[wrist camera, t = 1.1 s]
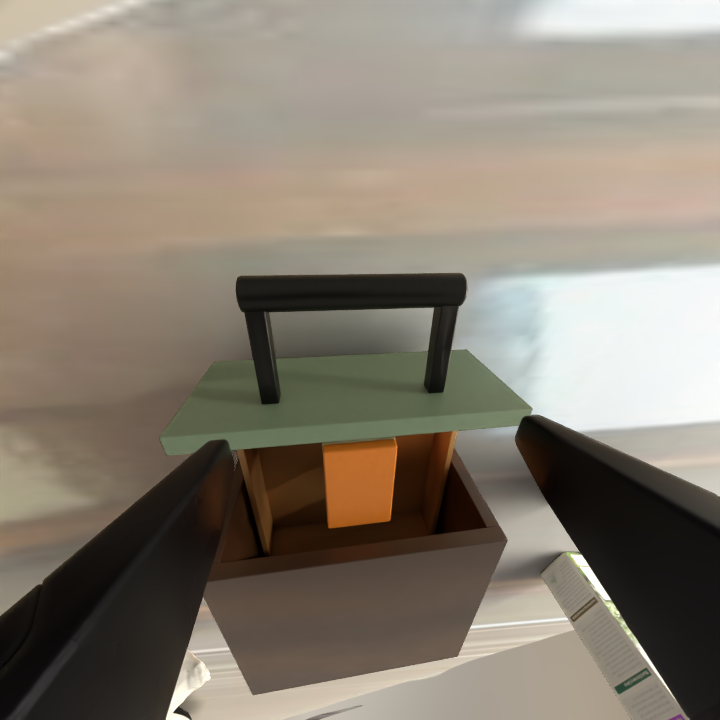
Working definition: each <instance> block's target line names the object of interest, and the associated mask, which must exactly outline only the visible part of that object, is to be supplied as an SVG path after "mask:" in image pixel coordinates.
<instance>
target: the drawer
mask: <svg viewBox="0 0 720 720" xmlns="http://www.w3.org/2000/svg"><path fill="white" fill-rule="evenodd" d="M466 295H467V280H466V278H465V276H464V275H463V274H461V273H422V274H348V275H274V276H240V277H238V278H237V281H236V297H237V302H238V305H239V307H240V310H241V311H242V312H244V313H245V318H246V324H247V329H248V334H249V340H250V345H251V350H252V356H253V360H239V361H219V362H214V363H213V364H212V365H211V367H210V368H209V369H208V371H207V372H206V374H205V375H204V376H203V378H202V379H201V380H200V382H199V383H198V385H197V386H196V387H195V389H194V390H193V391H192V393H191V394H190V396H189V397H188V398H187V400H186V401H185V402H184V404H183V405H182V407H181V408H180V409H179V411H178V412H177V413H176V415H175V416H174V418H173V419H172V420H171V422H170V423H169V424H168V426H167V427H166V429H165V430H164V431H163V433H162V434H161V435H160V437H159V440H160V442H161V444H162V447H163V449H164V451H165V454H166V455H167V456H170V455H182V454H193V453H195V452H196V451H197V450H198V449H200V448H201V447H202V446H203V445H204V444H205V443H207V442H208V441H210V440H219V439H225V440H227V441H228V443H229V446H230V449H231V450H237V453H238V457H239V461H240V464H241V468H242V472H243V476H244V480H245V483H246V487H247V491H248V495H249V499H250V502H251V506H252V510H253V514H254V518H255V522H256V525H257V529H258V533H259V537H260V541H261V544H262V548H263V552H264V556H265V557H270V556H277V555H285V554H292V553H300V552H307V551H315V550H323V549H330V548H338V547H345V546H353V545H360V544H368V543H376V542H383V541H391V540H398V539H406V538H413V537H421V536H429V535H434V534H435V529H436V525H437V520H438V516H439V511H440V507H441V502H442V498H443V493H444V489H445V484H446V480H447V475H448V471H449V466H450V462H451V458H452V453H453V449H454V444H455V440H456V435H457V431H461V430H473V429H485V428H496V427H508V426H519V425H520V422H521V419H522V418H523V417H524V416H527V415H531V412H532V407H530V406H529V405H528V404H527V403H526V402H525V401H524V400H523V399H522V398H520V397H519V396H518V395H517V394H516V393H515V392H514V391H513V390H511V389H510V388H509V387H508V386H507V385H506V384H505V383H504V382H503V381H501V380H500V379H499V378H498V377H497V376H496V375H495V374H494V373H493V372H491V371H490V370H489V369H488V368H487V367H486V366H485V365H484V364H482V363H481V362H480V361H479V360H478V359H477V358H476V357H475V356H474V355H472V354H471V353H470V352H469V351H468V350H467V349H465V350H451V349H452V343H453V337H454V332H455V326H456V321H457V315H458V309H459V306H461V305H462V304H463V303H464V301H465V299H466ZM432 307H434V313H433V320H432V328H431V335H430V342H429V350H428V351H424V352H404V353H383V354H363V355H342V356H322V357H301V358H280V359H276V356H275V350H274V343H273V336H272V329H271V322H270V315H269V312H293V311H328V310H363V309H397V308H432ZM392 436H395V441H396V444H397V456H396V466H395V477H394V487H393V497H392V508H391V518H390V521H387V522H379V523H370V524H362V525H354V526H346V527H338V528H328V522H327V508H326V494H325V479H324V465H323V451H322V442H333V441H345V440H357V439H368V438H380V437H392Z"/></svg>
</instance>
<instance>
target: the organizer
mask: <svg viewBox="0 0 720 720" xmlns="http://www.w3.org/2000/svg"><path fill="white" fill-rule="evenodd" d="M507 541H508V539H507V538H506V536H505V534H504V532H503V531H502V529H501V527H500V526H499V524H498V522H497V521H496V519H495V517H494V515H493V514H492V512H491V510H490V509H489V507H488V505H487V503H486V502H485V500H484V498H483V497H482V495H481V493H480V491H479V490H478V488H477V486H476V485H475V483H474V481H473V479H472V478H471V476H470V474H469V473H468V471H467V469H466V467H465V466H464V464H463V462H462V461H461V459H460V457H459V456H458V454H457V452H456V450H455V449H453V453H452V458H451V462H450V466H449V471H448V475H447V480H446V484H445V489H444V493H443V498H442V502H441V507H440V511H439V516H438V520H437V525H436V529H435V534H434V535H429V536H421V537H413V538H406V539H398V540H391V541H383V542H376V543H368V544H360V545H353V546H345V547H338V548H330V549H323V550H315V551H307V552H300V553H292V554H285V555H277V556H270V557H265V556H264V552H263V548H262V544H261V541H260V537H259V533H258V529H257V525H256V522H255V518H254V514H253V510H252V506H251V502H250V499H249V495H248V491H247V487H246V483H245V480H244V476H243V472H242V468H241V464H240V461H239V459H238V462H237V465H236V468H235V471H234V474H233V478H232V484H231V489H230V494H229V499H228V505H227V510H226V515H225V520H224V525H223V530H222V534H221V538H220V541H219V545H218V548H217V551H216V555H215V558H214V561H213V565H212V568H211V571H210V575H209V578H208V581H207V585H206V588H205V591H204V594H203V597H204V599H205V601H206V603H207V605H208V607H209V609H210V611H211V613H212V615H213V617H214V619H215V621H216V623H217V625H218V627H219V629H220V631H221V633H222V635H223V637H224V639H225V641H226V643H227V645H228V647H229V649H230V651H231V653H232V655H233V657H234V659H235V661H236V663H237V665H238V667H239V669H240V671H241V672H242V674H243V676H244V678H245V680H246V682H247V684H248V686H249V688H250V690H251V692H252V694H253V695H257V694H262V693H268V692H273V691H278V690H283V689H289V688H294V687H299V686H305V685H310V684H315V683H320V682H326V681H331V680H336V679H342V678H347V677H352V676H357V675H363V674H368V673H373V672H379V671H384V670H389V669H394V668H400V667H405V666H410V665H416V664H421V663H426V662H431V661H437V660H442V659H447V658H453V657H457V656H458V654H459V652H460V650H461V647H462V645H463V643H464V640H465V638H466V636H467V633H468V631H469V629H470V627H471V624H472V622H473V620H474V617H475V615H476V613H477V610H478V608H479V606H480V603H481V601H482V599H483V596H484V594H485V592H486V589H487V587H488V585H489V583H490V580H491V578H492V576H493V573H494V571H495V569H496V566H497V564H498V562H499V559H500V557H501V555H502V552H503V550H504V548H505V546H506V543H507Z"/></svg>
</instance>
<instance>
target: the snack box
mask: <svg viewBox="0 0 720 720" xmlns="http://www.w3.org/2000/svg"><path fill="white" fill-rule="evenodd" d="M322 451H323V465H324V479H325V494H326V508H327V522H328V528H338V527H346V526H354V525H362V524H370V523H379V522H387V521H390V518H391V508H392V497H393V487H394V477H395V466H396V456H397V444H396V441H395V436H392V437H380V438H368V439H357V440H345V441H333V442H322Z"/></svg>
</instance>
